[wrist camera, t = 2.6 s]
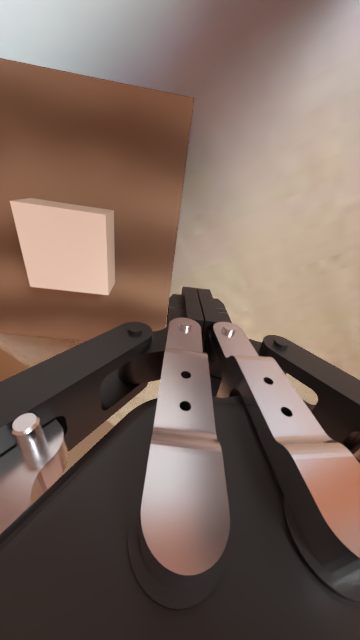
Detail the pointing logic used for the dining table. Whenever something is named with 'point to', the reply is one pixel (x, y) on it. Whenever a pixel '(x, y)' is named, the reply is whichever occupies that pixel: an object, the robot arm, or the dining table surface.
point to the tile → (66, 245)
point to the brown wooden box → (91, 192)
